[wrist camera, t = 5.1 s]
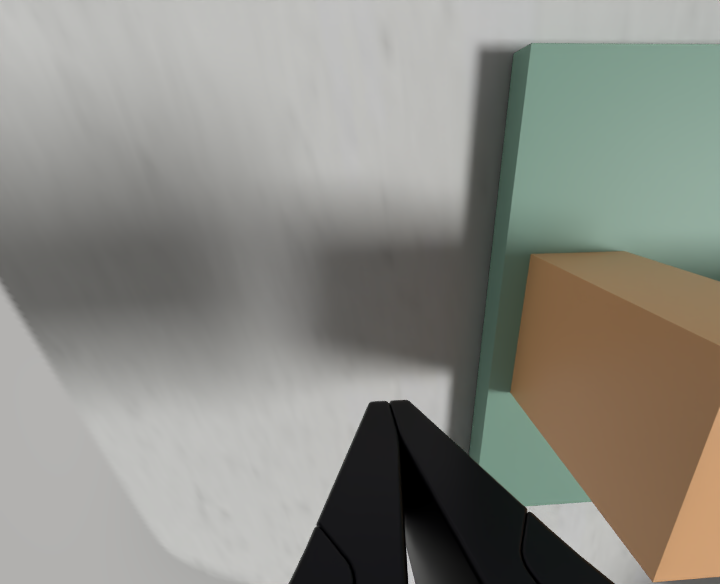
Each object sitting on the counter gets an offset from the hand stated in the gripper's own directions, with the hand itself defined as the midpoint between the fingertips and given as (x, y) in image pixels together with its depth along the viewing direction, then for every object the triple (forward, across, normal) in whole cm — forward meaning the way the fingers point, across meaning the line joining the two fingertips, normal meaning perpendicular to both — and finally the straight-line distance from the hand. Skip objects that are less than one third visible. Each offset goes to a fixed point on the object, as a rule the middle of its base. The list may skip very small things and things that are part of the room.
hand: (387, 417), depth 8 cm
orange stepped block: (+4, -8, 0) cm, 9 cm away
